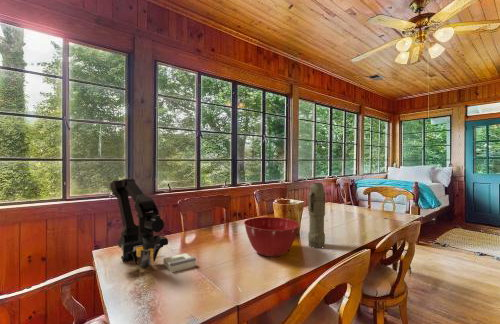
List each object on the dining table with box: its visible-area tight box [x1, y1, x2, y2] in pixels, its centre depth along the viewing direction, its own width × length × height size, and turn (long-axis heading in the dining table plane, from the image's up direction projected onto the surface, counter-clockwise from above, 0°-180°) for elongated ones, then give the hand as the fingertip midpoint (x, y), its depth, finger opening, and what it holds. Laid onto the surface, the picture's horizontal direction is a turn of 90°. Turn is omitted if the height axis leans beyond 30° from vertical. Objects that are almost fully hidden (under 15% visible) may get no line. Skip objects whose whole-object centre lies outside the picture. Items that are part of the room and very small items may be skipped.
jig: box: [162, 252, 197, 273], centre depth 116 cm, size 11×11×4 cm
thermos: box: [307, 182, 326, 249], centre depth 143 cm, size 9×12×35 cm
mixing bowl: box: [243, 216, 300, 258], centre depth 133 cm, size 28×28×16 cm
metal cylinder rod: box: [140, 249, 151, 269], centre depth 114 cm, size 4×4×7 cm
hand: (145, 262), depth 114 cm, fingers open, 7 cm apart
